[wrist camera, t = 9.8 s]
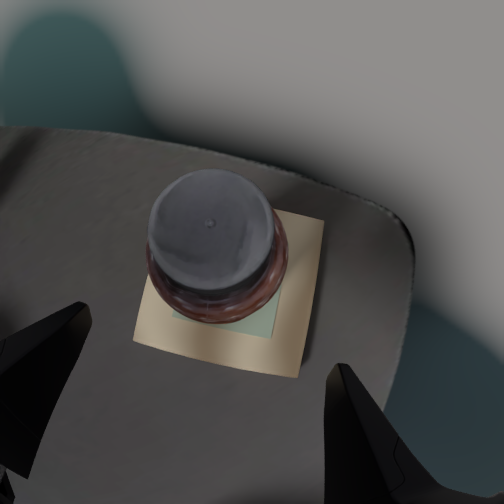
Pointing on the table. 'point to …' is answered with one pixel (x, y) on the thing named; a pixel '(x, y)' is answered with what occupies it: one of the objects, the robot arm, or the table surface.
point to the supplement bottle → (215, 247)
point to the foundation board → (253, 326)
